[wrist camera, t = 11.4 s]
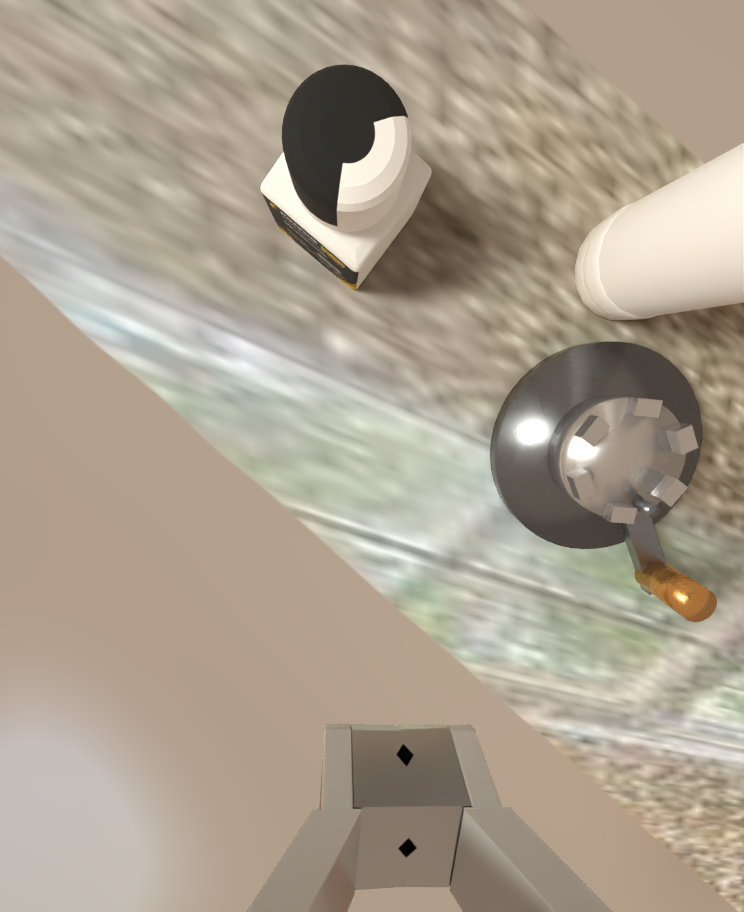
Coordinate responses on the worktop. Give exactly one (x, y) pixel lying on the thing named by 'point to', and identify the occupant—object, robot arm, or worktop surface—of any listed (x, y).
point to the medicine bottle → (345, 170)
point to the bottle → (670, 247)
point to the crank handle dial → (630, 483)
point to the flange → (544, 405)
